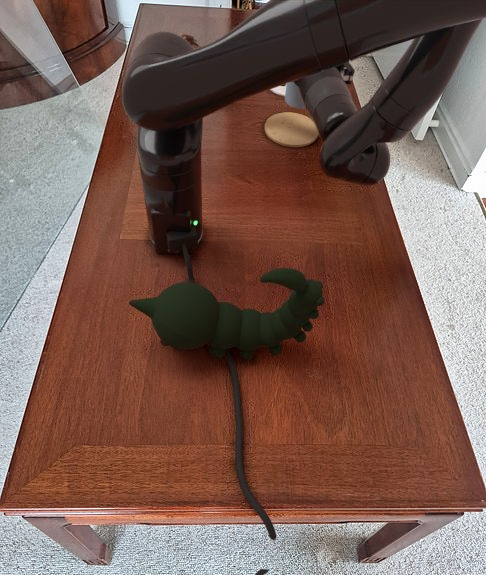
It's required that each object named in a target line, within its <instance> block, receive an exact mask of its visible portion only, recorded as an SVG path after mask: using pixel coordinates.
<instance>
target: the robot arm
mask: <svg viewBox="0 0 486 575" xmlns="http://www.w3.org/2000/svg"><path fill="white" fill-rule="evenodd" d="M484 19H486V0H268V1H266V2H265V3H264V4H263V5H262V6H260V7H259V8H258V9H256V10H255V11H254V12H252V13H251V14H250V15H249V16H248V17H247V18H245V19H244V20H242V21H241V22H240V23H239V24H238V25H237V26H235V27H234V28H233V29H231V30H230V31H229V32H227V33H226V34H224V35H223V36H222V37H221V36H220V38H217V39H216V40H214V41H212V42H210V43H208V44H205V45H203V46H201V47H200V48H198V49H194V48H193V47H192V45H191V44H190V43H189V42H188V41H187V40H185V39H184V38H183V37H181V36H179V34H177V33H174V32H171V31H155V32H153V33H150V34H148V35H147V36H145V37H143V38H142V39H141V40H140V41H139V43H138V44H137V45H136V47H135V49H134V50H133V53H132V56H131V58H130V61H129V63H128V66H127V69H126V70H125V73H124V77H123V80H122V85H121V103H122V107H123V110H124V112H125V114H126V115H127V117H128V118H129V119H130V120H131V121H132V122H133V123H134V124H136V126H137V130H136V151H137V158H138V165H139V170H140V172H139V173H140V179H141V184H142V192H143V199H144V204H145V205H144V206H145V212H146V218H147V225H148V234H149V240H150V242H151V244H152V245H153V246H154V249H155V253H156V254H167V255H168V254H169V255H183V258H184V262H185V266H186V271H187V279H188V282H192V283H196V281H195V276H194V272H193V266H192V261H191V256H190V255H192V254H193V251H194V249H196V248H199V245H200V244H201V243H202V240H203V238H204V227H203V190H202V189H203V188H202V186H203V182H202V172H203V171H202V142H203V130H204V118H206V117H208V116H209V115H212V114H214V113H216V112H218V111H220V110H222V109H224V108H226V107H229V106H230V105H233V104H235V103H237V102H239V101H242V100H244V99H247V98H249V97H253V96H255V95H258V94H262V93H265V92H267V91H271V90H270V89H273V88H276V87H278V86H286V83H289V82H294V83H295V85H296V86H298V87H299V90H300V94H301V97H302V99H303V101H304V104H305V107H306V109H305V110H306V112H307V114H308V117H309V118H310V119H311V120H312V121H313V123H314V124H315V127H316V129H317V132H318V137H319V138H320V140H321V142H322V145H321V148H320V151H319V155H318V164H319V168H320V171H321V172H322V173H323V175H325V176H326V177H328V178H330V179H332V180H337V181H341V182H346V183H350V184H353V185H359V186H363V187H371V186H375V185H377V184H379V183H380V182H382V181H383V180H384V179H385V178H386V176H387V175H388V173H389V170H390V166H391V153H390V149H389V146H388V144H389V143H397V142H400V141H402V140H403V139H405V138H406V137H407V136H408V135H409V134H410V133H411V132H412V131H413V129H414V128H415V127H416V126H418V124H419V123H420V122H421V120H423V118H424V117H425V116H427V114H428V113H429V111H430V110H431V109H432V108H433V107H434V106H435V104H436V103H437V102H438V100H439V99H440V98H441V97H442V95H443V94H444V92H445V91H446V90H447V87H448V85H449V84H450V82H451V80H452V79H453V77H454V74H455V73H456V70H457V69H458V66H459V64H460V63H461V61H462V58H463V56H464V54H465V52H466V50H467V48H468V46H469V45H470V42H471V40H472V39H473V37H474V35H475V33H476V32H477V30H478V28H480V25H481V23H482V22H483V20H484ZM409 41H411V43H410V44H409V46H408V47H407V49H406V51H405V52H404V53H403V55H402V56H401V58H400V59H399V60H398V62H397V63H396V64H395V66H394V67H393V68H392V70H391V71H390V72H389V74H388V75H387V76H386V78H385V79H384V80H383V82H382V83H381V84H380V85H379V87H378V88H377V90H376V91H375V92H374V93H373V95H372V96H371V98H370V99H369V101H368V102H367V103H365V104H364V105H363V106H362V107H360V108H359V109H358V107H357V106H356V104H355V102H354V100H353V96H352V93H351V91H350V90H349V87H348V86H347V85H349V86H350V85H352V83H353V79H354V76H355V71H356V70H355V68H354V67H353V66H352V64H351V63H350V62H353V61H356V60H359V59H362V58H363V57H366V56H368V55H372V54H374V53H377V52H379V51H382V50H385V49H388V48H391V47H395V46H397V45H400V44H403V43H406V42H409ZM387 143H388V144H387ZM229 349H230V348H228V349H226V353H225V354H224V357H225V359H226V362H227V365H228V369H229V371H230V376H231V381H232V390H233V403H234V415H235V447H234V448H235V452H234V456H235V457H234V458H235V470H236V475H237V480H238V483H239V486H240V489H241V492H242V494H243V495H244V496H245V499H246V500H247V501H248V503H249V505H250V506H251V508H252V509H253V510H254V511H255V513H256V514H257V515H258V516H259V518H260V519H261V521H262V524H264V527H265V529H266V531H267V534H268V537H269V539H270V540H272V541H275V540H276V539H277V532H276V529H275V526H274V524H273V522H272V520H271V518H270V516H269V515H268V514H267V512H266V511H265V509H264V508H263V506H262V505H261V504H260V503H259V501H258V500H257V499H256V497H255V495H254V494H253V493H252V491H251V489H250V487H249V484H248V483H247V482H248V481H247V480H246V476H245V472H244V464H243V427H244V426H243V414H242V413H243V412H242V401H241V388H240V381H239V376H238V372H237V367H236V364H235V361H234V358H233V356H232V353H231V351H230V350H229ZM269 571H270V569H269V568H260V569H258V571H256V573H255V574H254V575H267V574H268V573H269Z"/></svg>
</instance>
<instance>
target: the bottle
mask: <svg viewBox="0 0 486 575" xmlns="http://www.w3.org/2000/svg"><path fill="white" fill-rule="evenodd" d="M284 102H285V103H286V104H287V105H288V106H289V107H291V108H292V109H293V108H294V109H297V110H306V107H305V104H304V101H303V99H302V97H301V94H300V90H299V87H298V86H296V85H295V83H294V82H289V83H287V85H286V93H285V96H284Z"/></svg>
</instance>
